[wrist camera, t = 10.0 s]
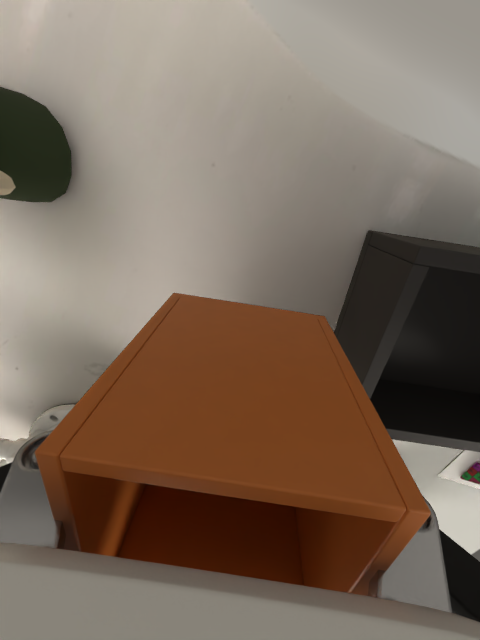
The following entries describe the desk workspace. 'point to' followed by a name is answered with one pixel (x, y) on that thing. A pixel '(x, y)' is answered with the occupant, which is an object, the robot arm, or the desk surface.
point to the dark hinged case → (417, 337)
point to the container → (233, 453)
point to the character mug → (31, 151)
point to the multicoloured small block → (464, 469)
